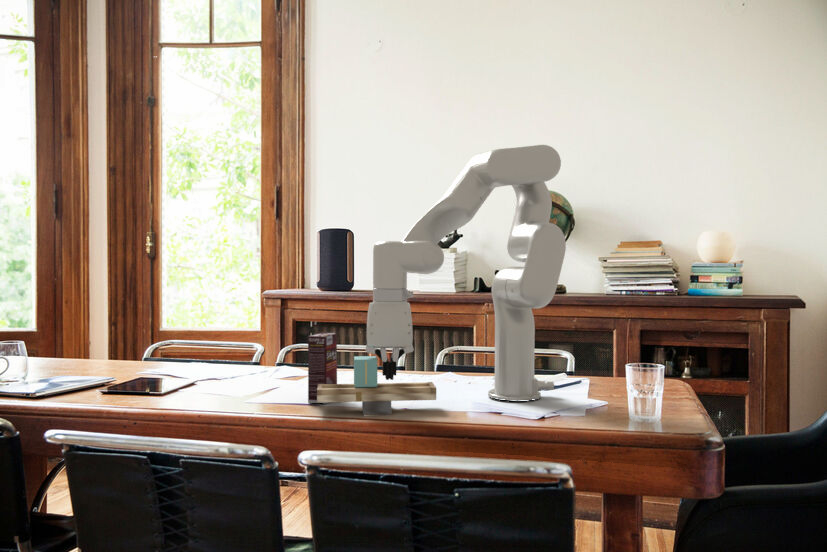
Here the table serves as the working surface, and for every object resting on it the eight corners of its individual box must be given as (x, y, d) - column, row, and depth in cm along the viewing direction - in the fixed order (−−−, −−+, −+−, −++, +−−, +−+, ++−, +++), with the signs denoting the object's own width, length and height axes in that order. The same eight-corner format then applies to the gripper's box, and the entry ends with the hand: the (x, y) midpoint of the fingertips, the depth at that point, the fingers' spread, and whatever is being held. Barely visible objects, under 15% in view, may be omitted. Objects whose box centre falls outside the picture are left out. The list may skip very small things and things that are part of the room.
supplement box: (327, 404, 163) (326, 336, 163) (307, 403, 164) (306, 336, 163) (338, 397, 171) (337, 332, 171) (319, 396, 172) (318, 332, 172)
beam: (431, 405, 162) (431, 381, 162) (436, 414, 153) (437, 388, 153) (318, 408, 159) (318, 383, 159) (317, 417, 150) (316, 390, 150)
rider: (376, 388, 158) (376, 356, 158) (377, 393, 153) (377, 359, 153) (353, 389, 158) (353, 356, 158) (354, 393, 153) (354, 359, 153)
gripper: (421, 295, 160) (420, 375, 161) (355, 295, 158) (355, 376, 159) (425, 297, 153) (424, 381, 153) (356, 297, 151) (356, 382, 151)
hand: (389, 378), depth 156 cm, fingers closed
